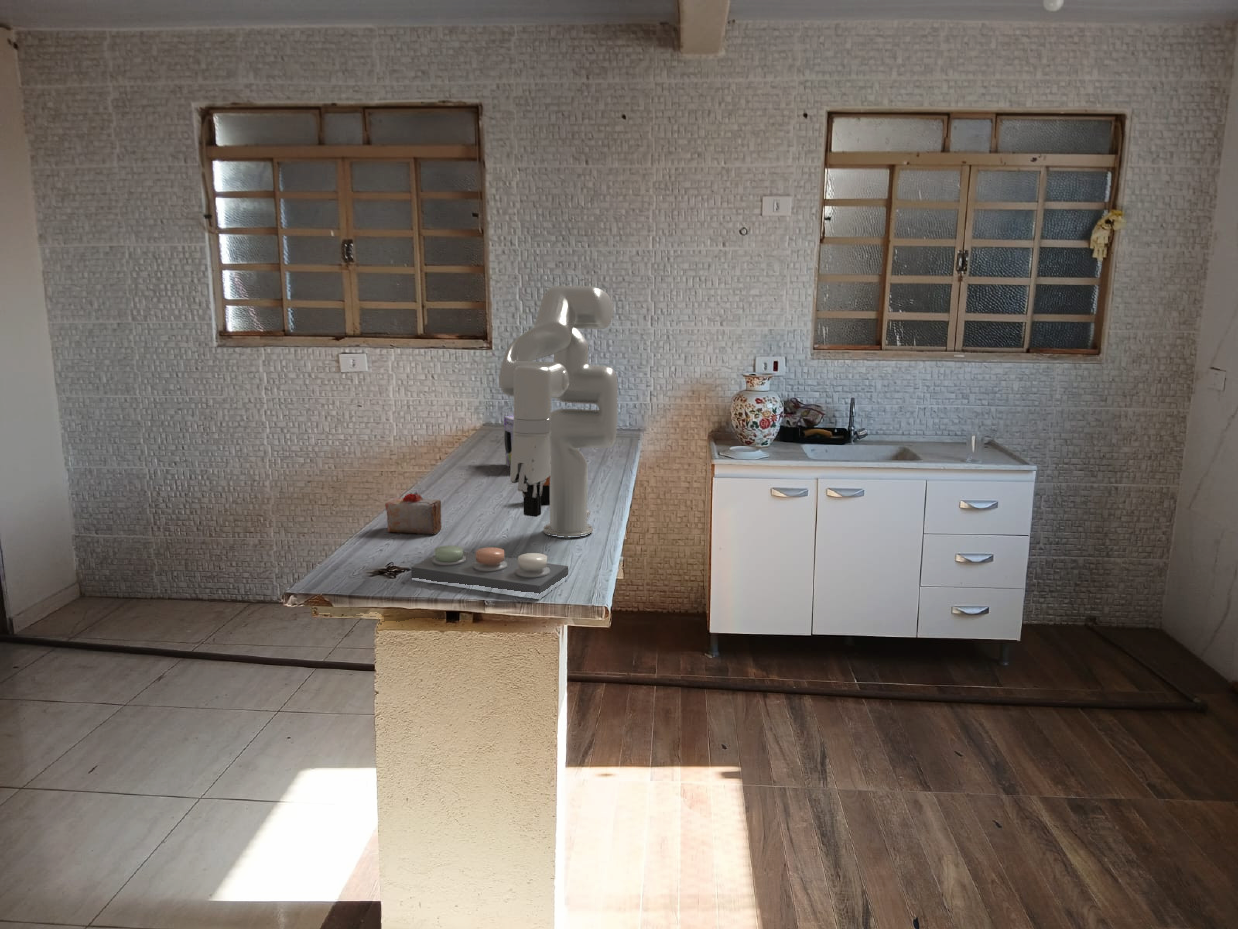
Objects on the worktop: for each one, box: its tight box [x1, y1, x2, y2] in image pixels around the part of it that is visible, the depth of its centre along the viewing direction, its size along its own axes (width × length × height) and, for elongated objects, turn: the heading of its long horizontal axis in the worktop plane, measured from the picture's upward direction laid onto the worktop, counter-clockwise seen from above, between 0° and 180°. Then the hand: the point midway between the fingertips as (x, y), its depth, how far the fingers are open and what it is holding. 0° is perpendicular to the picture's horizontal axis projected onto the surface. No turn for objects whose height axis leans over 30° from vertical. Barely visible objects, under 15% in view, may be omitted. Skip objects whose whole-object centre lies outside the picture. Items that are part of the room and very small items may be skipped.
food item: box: [384, 491, 442, 535], centre depth 226 cm, size 14×8×10 cm, turn 82°
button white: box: [517, 552, 548, 570], centre depth 186 cm, size 6×6×2 cm
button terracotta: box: [475, 547, 505, 564], centre depth 190 cm, size 6×6×2 cm
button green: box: [434, 545, 464, 562], centre depth 193 cm, size 6×6×2 cm
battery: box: [541, 476, 550, 505], centre depth 257 cm, size 4×7×10 cm, turn 97°
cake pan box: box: [503, 414, 514, 468], centre depth 303 cm, size 19×5×18 cm, turn 25°
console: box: [410, 551, 569, 594], centre depth 190 cm, size 14×30×4 cm, turn 69°
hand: (532, 515), depth 184 cm, fingers closed
